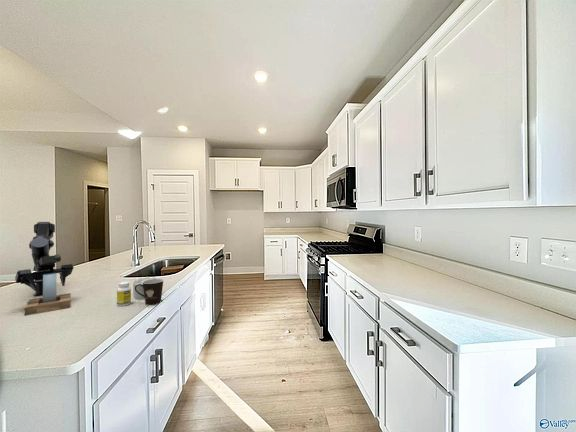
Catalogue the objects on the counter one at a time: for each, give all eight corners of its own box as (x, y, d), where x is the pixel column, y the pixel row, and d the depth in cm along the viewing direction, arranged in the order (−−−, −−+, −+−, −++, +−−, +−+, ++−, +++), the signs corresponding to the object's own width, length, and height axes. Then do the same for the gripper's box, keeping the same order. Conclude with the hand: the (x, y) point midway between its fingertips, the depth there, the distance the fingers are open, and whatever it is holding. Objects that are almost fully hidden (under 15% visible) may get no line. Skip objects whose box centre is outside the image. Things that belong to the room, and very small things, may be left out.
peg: (43, 305, 114) (43, 274, 114) (56, 303, 117) (56, 272, 117) (42, 308, 111) (42, 275, 111) (55, 306, 114) (56, 274, 114)
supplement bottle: (124, 306, 114) (124, 284, 114) (113, 305, 115) (113, 284, 115) (133, 302, 119) (133, 281, 119) (123, 301, 121) (123, 281, 120)
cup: (136, 300, 122) (136, 282, 122) (130, 294, 132) (130, 277, 132) (159, 296, 129) (159, 279, 129) (153, 290, 139) (153, 274, 139)
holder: (29, 306, 115) (29, 299, 115) (70, 299, 124) (70, 293, 124) (24, 315, 104) (24, 308, 104) (69, 307, 113) (69, 300, 113)
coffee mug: (167, 300, 122) (167, 279, 122) (152, 306, 114) (152, 284, 114) (148, 298, 126) (148, 277, 126) (133, 303, 118) (133, 282, 118)
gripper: (16, 251, 108) (24, 281, 102) (72, 247, 124) (81, 272, 118) (12, 268, 112) (19, 297, 106) (66, 261, 128) (74, 287, 122)
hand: (50, 287), depth 113 cm, fingers open, 9 cm apart
